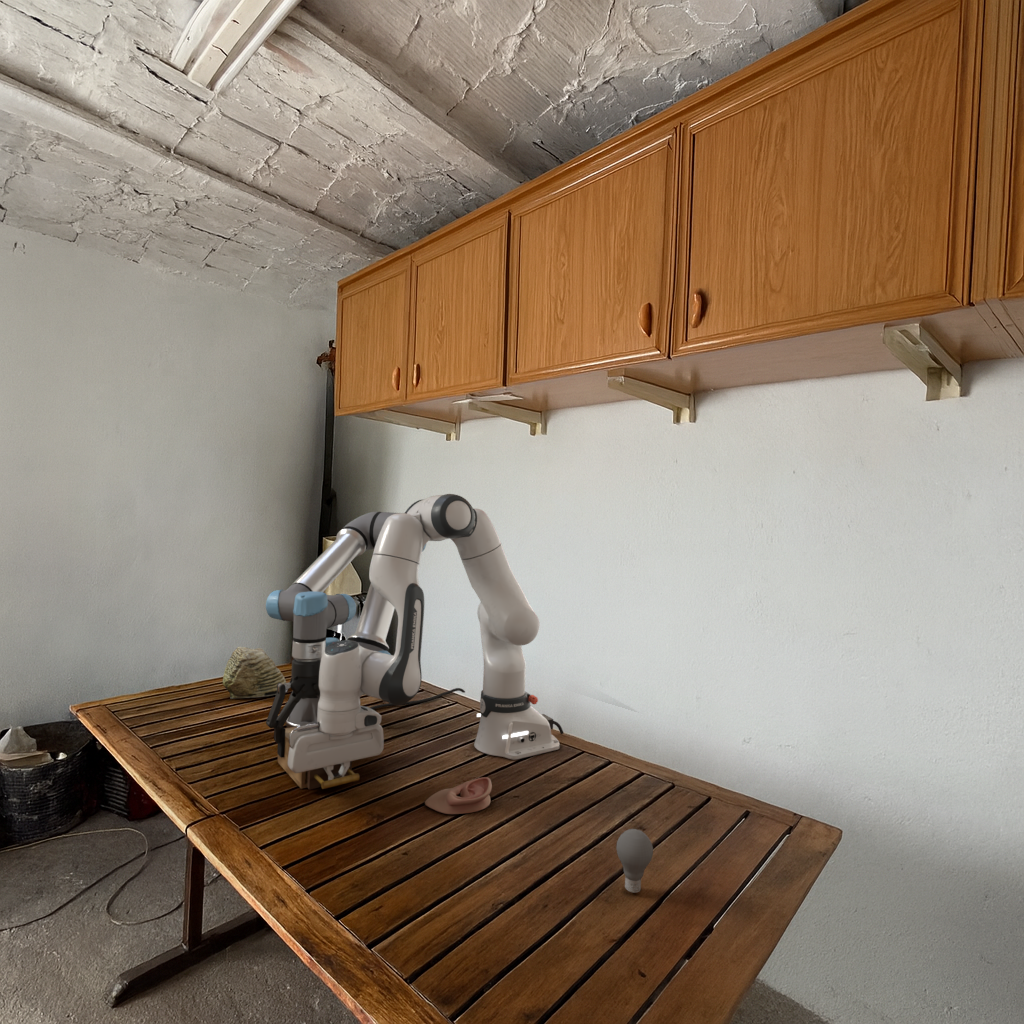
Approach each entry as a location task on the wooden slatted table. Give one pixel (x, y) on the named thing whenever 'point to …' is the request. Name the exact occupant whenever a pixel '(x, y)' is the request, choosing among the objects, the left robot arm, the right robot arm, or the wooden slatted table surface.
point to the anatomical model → (462, 797)
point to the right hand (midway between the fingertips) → (335, 783)
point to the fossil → (251, 674)
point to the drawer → (321, 778)
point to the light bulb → (634, 857)
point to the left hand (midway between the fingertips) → (305, 750)
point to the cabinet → (283, 762)
